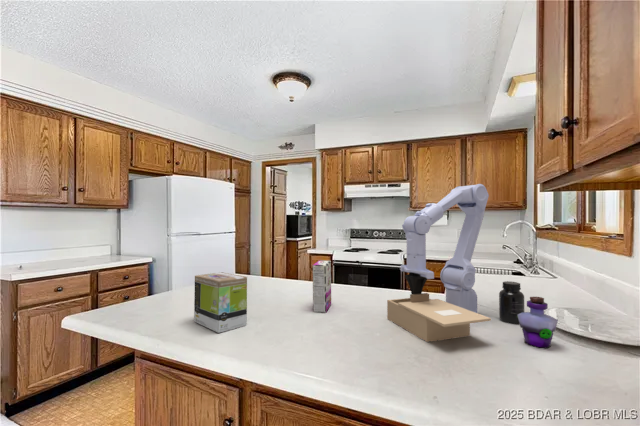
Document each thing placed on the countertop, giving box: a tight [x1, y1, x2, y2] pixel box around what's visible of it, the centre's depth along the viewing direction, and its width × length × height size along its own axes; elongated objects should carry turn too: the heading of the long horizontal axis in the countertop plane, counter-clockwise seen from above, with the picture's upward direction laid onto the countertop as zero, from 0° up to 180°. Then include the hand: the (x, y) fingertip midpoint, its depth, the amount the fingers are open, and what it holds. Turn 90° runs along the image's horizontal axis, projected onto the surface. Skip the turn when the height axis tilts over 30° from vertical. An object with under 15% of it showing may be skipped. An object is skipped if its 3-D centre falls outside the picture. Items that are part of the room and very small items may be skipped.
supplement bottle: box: [498, 280, 525, 325], centre depth 99 cm, size 7×7×12 cm
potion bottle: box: [518, 296, 559, 350], centre depth 81 cm, size 9×9×12 cm
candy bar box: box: [311, 260, 332, 314], centre depth 114 cm, size 11×5×16 cm, turn 168°
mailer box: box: [386, 297, 471, 343], centre depth 94 cm, size 14×20×6 cm
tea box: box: [193, 271, 248, 334], centre depth 97 cm, size 15×10×15 cm, turn 47°
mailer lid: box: [398, 292, 492, 327], centre depth 88 cm, size 14×20×3 cm
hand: (416, 298), depth 98 cm, fingers closed
